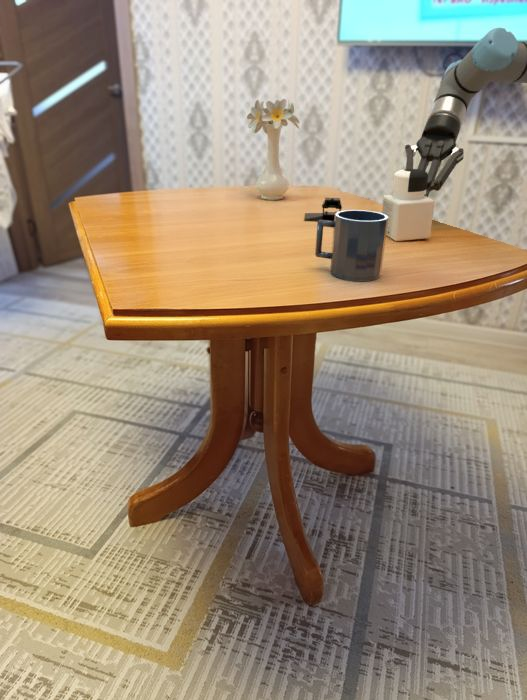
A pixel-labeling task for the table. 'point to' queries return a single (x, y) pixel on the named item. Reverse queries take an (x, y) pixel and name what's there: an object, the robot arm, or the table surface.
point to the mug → (355, 244)
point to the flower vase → (272, 145)
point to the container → (409, 206)
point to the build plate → (325, 215)
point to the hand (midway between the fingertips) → (411, 213)
